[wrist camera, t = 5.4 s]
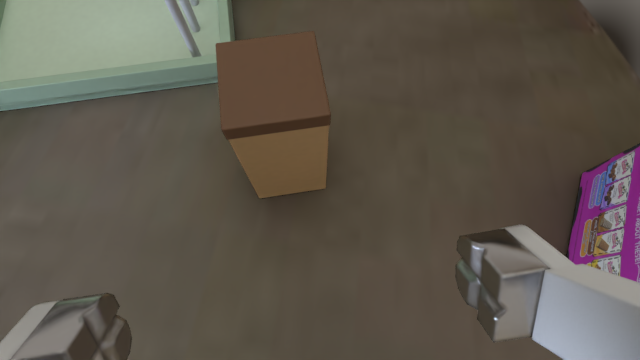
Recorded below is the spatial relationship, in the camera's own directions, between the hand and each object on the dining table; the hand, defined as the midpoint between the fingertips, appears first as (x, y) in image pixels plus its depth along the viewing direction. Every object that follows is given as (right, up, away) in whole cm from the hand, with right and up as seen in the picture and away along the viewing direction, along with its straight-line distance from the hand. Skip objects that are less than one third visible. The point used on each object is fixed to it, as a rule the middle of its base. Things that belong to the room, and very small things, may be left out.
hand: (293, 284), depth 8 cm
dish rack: (-17, +17, +22) cm, 32 cm away
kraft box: (-2, +4, +17) cm, 18 cm away
